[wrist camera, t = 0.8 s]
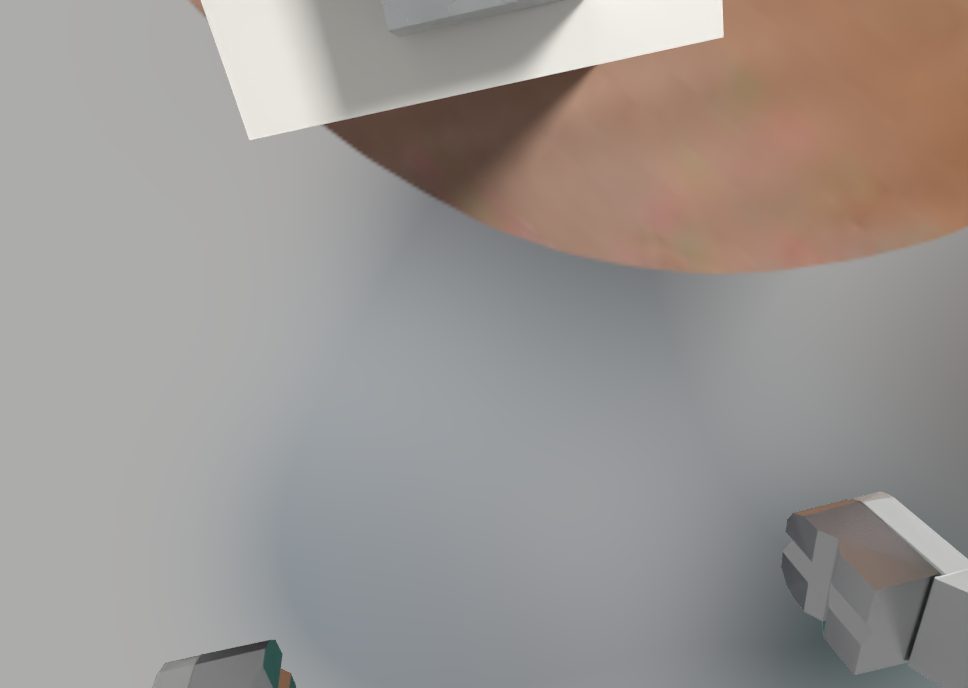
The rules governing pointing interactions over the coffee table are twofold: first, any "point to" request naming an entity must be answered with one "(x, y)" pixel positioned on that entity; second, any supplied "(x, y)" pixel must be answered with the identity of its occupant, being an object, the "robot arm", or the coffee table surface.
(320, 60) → the plinth
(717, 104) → the coffee table surface
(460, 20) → the hammer
